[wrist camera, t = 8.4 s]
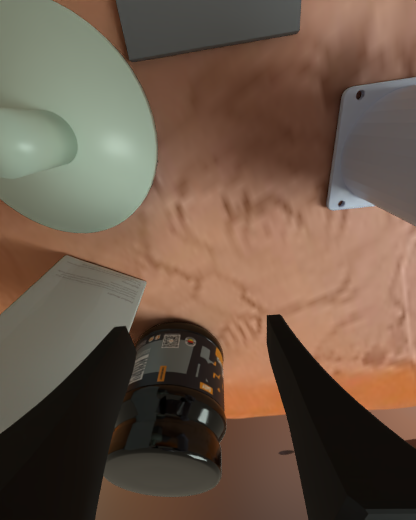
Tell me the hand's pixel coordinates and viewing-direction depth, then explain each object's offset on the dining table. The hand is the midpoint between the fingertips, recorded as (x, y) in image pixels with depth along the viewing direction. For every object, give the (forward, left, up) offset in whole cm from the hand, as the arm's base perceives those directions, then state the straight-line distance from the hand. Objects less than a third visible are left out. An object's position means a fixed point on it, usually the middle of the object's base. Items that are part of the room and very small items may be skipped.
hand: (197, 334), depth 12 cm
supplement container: (+5, +14, -11) cm, 18 cm away
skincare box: (+11, +4, -11) cm, 16 cm away
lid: (+7, -10, -6) cm, 13 cm away
